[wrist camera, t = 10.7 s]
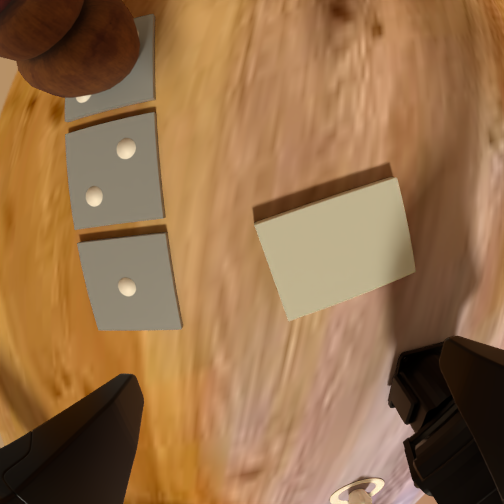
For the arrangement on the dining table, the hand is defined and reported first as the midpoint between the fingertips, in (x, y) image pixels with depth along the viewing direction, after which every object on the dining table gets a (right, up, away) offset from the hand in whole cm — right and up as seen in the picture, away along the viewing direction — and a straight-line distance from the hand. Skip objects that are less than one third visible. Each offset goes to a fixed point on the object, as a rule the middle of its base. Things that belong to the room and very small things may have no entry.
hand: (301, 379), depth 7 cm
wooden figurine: (-11, +16, +9) cm, 22 cm away
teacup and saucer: (+11, -32, +23) cm, 41 cm away
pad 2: (-11, +9, +11) cm, 18 cm away
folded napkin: (+5, +4, +13) cm, 14 cm away
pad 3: (-10, +1, +13) cm, 16 cm away
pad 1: (-11, +16, +9) cm, 22 cm away
